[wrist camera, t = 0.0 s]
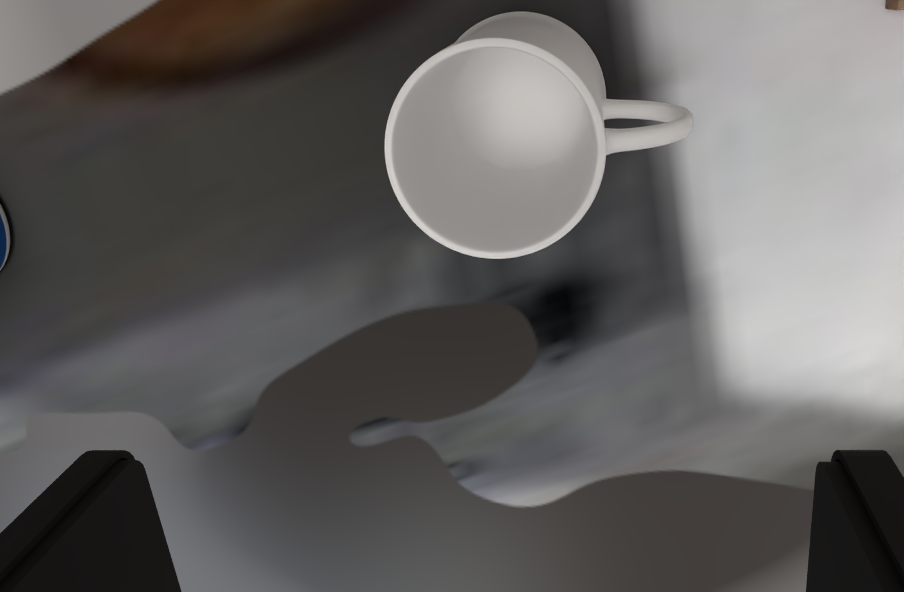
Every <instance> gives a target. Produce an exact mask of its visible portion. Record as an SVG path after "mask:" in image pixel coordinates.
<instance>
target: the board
mask: <svg viewBox="0 0 904 592" xmlns="http://www.w3.org/2000/svg"><path fill="white" fill-rule="evenodd" d="M886 9H893V10H904V0H886Z"/></svg>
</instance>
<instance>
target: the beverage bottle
mask: <svg viewBox="0 0 904 592" xmlns="http://www.w3.org/2000/svg"><path fill="white" fill-rule="evenodd" d="M9 249H10V231H9V225H8V221H7V218H6V215H5V213H4V210H3V208H2V206H1V204H0V270H1V269H2V267H3V266H4V264H5V262H6V260H7V257H8V254H9Z"/></svg>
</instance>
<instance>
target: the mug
mask: <svg viewBox="0 0 904 592" xmlns="http://www.w3.org/2000/svg"><path fill="white" fill-rule="evenodd" d="M613 118H631V119H646V120H655V121H661V122H667V123H663V124H658V125H652V126H645V127H638V128H627V129H610V128H605V127H604V120H606V119H613ZM692 128H693V116H692V113H691V112H690V111H689V110H688V109H686V108H684V107H681V106H678V105H674V104H669V103H663V102H654V101H642V100H614V99H606V87H605V81H604V77H603V73H602V70H601V67H600V65H599V62H598V60H597V58H596V56H595V54H594V53H593V51H592V50H591V48H590V47H589V45H588V44H587V43H586V42H585V40H584V39H583V38H582V37H581V36H580V35H579V34H578V33H577V32H575V31H574V30H573V29H572V28H570V27H569V26H567V25H566V24H564V23H562V22H561V21H559V20H557V19H554V18H552V17H549V16H546V15H543V14H539V13H533V12H508V13H503V14H499V15H495V16H492V17H490V18H487V19H485V20H483V21H481V22H479V23H477V24H476V25H474V26H473V27H471V28H470V29H468V30H467V31H466V32H465V33H464V34H463V35H461V36H460V37H459V38H458V40H457V41H456V42H455V43H453V44H452V45H450V46H448V47H447V48H445V49H443V50H441V51H440V52H438V53H436V54H435V55H433V56H432V57H431V58H429V59H428V60H427V61H425V62H424V63H423V64H422V65H421V66H420V67H419V68H418V69H417V70H416V71H415V72H414V73H413V74H412V75H411V76H410V77H409V78H408V80H407V81H406V82H405V84H404V85H403V87H402V88H401V90H400V92H399V93H398V95H397V97H396V99H395V101H394V104H393V106H392V109H391V111H390V115H389V118H388V122H387V127H386V133H385V161H386V167H387V172H388V176H389V179H390V182H391V185H392V188H393V190H394V192H395V195H396V197H397V199H398V200H399V202H400V204H401V206H402V207H403V209H404V210H405V212H406V213H407V214H408V216H409V217H410V218H411V219H412V220H413V222H414V223H415V224H416V225H417V226H418V227H419V228H420V229H421V230H423V231H424V232H425V233H426V234H427V235H429V236H430V237H431V238H433V239H434V240H436V241H437V242H439V243H441V244H442V245H444V246H446V247H448V248H450V249H452V250H455V251H457V252H460V253H463V254H467V255H470V256H475V257H481V258H491V259H503V258H513V257H519V256H523V255H527V254H530V253H533V252H536V251H538V250H541V249H543V248H545V247H547V246H549V245H551V244H552V243H554V242H556V241H557V240H559V239H560V238H562V237H563V236H564V235H565V234H567V233H568V232H569V231H570V230H571V229H572V228H573V227H574V226H575V225H576V224H577V223H578V222H579V221H580V220H581V218H582V217H583V216H584V215H585V213H586V212H587V210H588V209H589V207H590V206H591V204H592V202H593V200H594V198H595V196H596V194H597V192H598V189H599V187H600V184H601V180H602V177H603V173H604V167H605V160H606V155H609V154H612V153H616V152H622V151H631V150H639V149H646V148H652V147H658V146H662V145H666V144H670V143H673V142H676V141H679V140H681V139H683V138H685V137H686V136H688V135H689V134H690V132H691V131H692Z"/></svg>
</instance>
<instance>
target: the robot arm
mask: <svg viewBox="0 0 904 592" xmlns="http://www.w3.org/2000/svg"><path fill="white" fill-rule="evenodd" d="M0 592H181V589H180V585H179V582H178V579H177V576H176V572H175V569H174V565H173V562H172V558H171V555H170V552H169V548H168V545H167V542H166V538H165V535H164V531H163V528H162V525H161V521H160V518H159V515H158V511H157V508H156V505H155V501H154V498H153V495H152V491H151V488H150V484H149V481H148V478H147V474H146V471H145V468H144V466H143V464H142V463H141V462H140V461H137V460H135V459H134V456H133V455H132V454H131V453H130V452H128V451H125V450H95V451H94V450H92V451H87V452H85V453H84V454H82V455H81V456H80V457H79V458H78V459H77V460H76V461H75V462H74V463H73V464H72V465H71V466H70V467H69V468H68V469H66V470H65V471H64V472H63V473H62V474H61V475H60V476H59V477H58V478H57V479H56V480H55V481H54V482H53V483H52V484H51V485H50V486H49V487H48V488H47V489H46V490H45V491H44V492H43V493H42V494H41V495H40V496H38V497H37V499H35V500H34V501H33V502H32V503H31V504H30V505H29V506H28V507H27V508H26V509H25V510H24V511H23V512H22V513H21V514H20V515H19V516H18V517H17V518H16V519H15V520H14V521H13V522H12V523H11V524H10V525H8V526H7V527H6V528H5V529H4V530H3V531H2V532H1V533H0ZM806 592H904V477H903V476H902V474H901V473H900V471H899V469H898V468H897V466H896V465H895V463H894V461H893V460H892V458H891V456H890V455H889V454H888V453H887V452H886V451H884V450H836V451H835V452H834V453H833V456H832V459H831V462H819V463H818V464H817V467H816V474H815V486H814V499H813V512H812V523H811V536H810V549H809V561H808V574H807V586H806Z"/></svg>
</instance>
